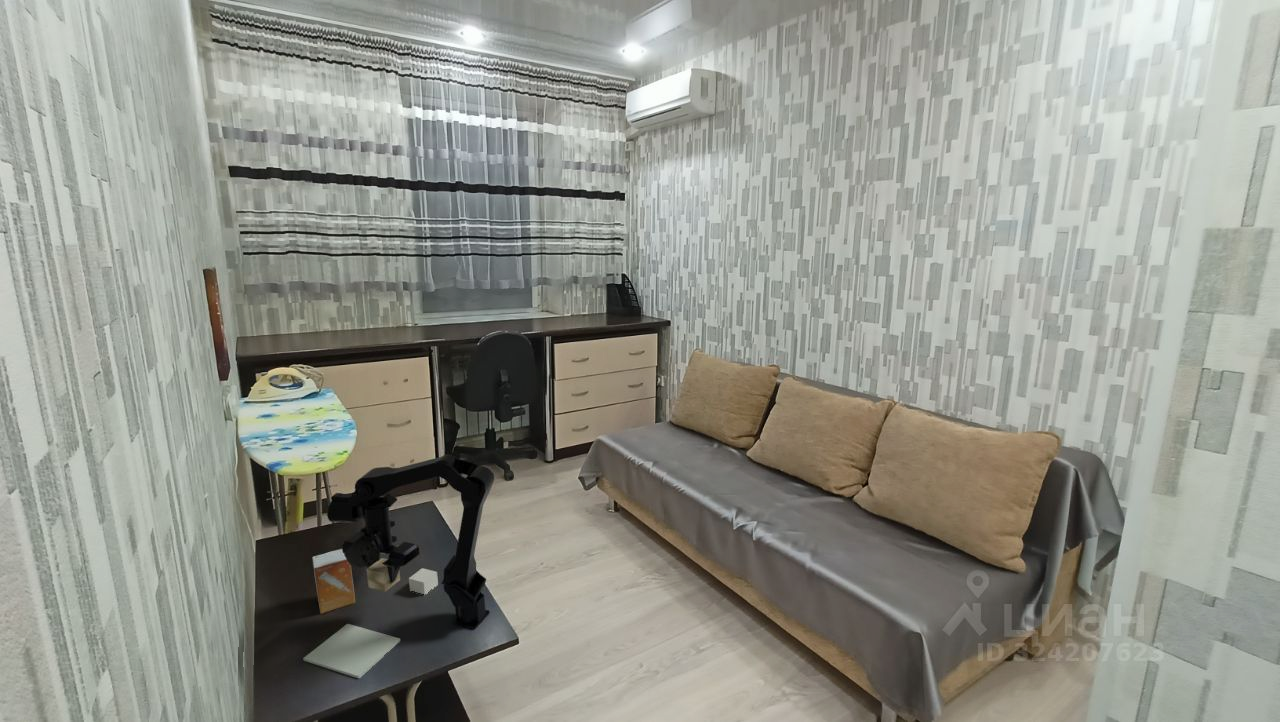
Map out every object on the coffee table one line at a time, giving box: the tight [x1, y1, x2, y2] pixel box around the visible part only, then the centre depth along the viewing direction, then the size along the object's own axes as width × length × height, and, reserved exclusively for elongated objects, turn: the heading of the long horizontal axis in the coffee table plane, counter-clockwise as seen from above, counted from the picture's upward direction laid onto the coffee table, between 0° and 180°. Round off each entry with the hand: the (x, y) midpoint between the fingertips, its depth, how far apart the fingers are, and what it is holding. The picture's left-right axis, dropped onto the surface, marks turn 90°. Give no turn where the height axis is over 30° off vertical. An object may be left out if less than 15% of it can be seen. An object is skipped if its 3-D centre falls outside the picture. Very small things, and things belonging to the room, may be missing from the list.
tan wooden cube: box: [366, 557, 401, 592], centre depth 135 cm, size 5×5×5 cm
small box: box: [311, 548, 356, 614], centre depth 142 cm, size 8×6×13 cm
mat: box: [303, 623, 401, 679], centre depth 126 cm, size 16×12×1 cm
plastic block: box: [408, 567, 439, 596], centre depth 148 cm, size 5×5×4 cm
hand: (384, 579), depth 136 cm, fingers closed on tan wooden cube, 5 cm apart
